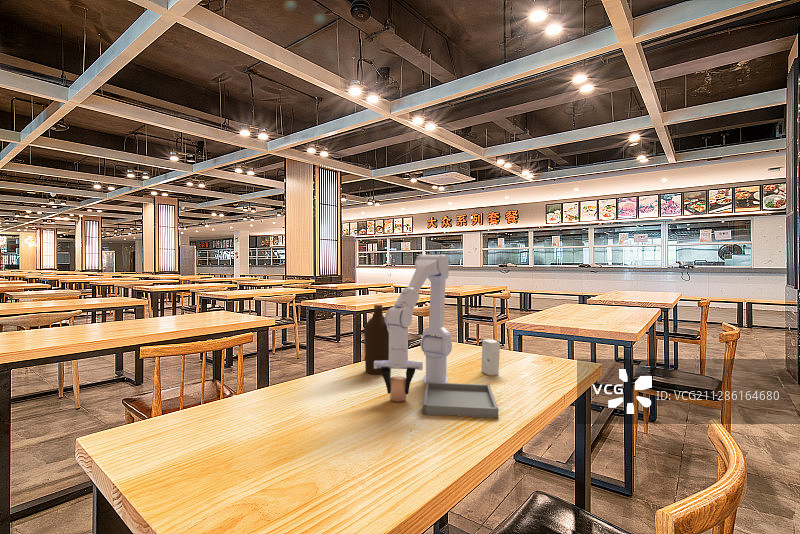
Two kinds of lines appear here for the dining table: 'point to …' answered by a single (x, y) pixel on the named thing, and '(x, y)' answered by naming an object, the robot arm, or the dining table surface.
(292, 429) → the dining table surface
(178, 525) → the dining table surface
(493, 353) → the skincare box
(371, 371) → the olive oil
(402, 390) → the pink rounded cylinder
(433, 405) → the tray
